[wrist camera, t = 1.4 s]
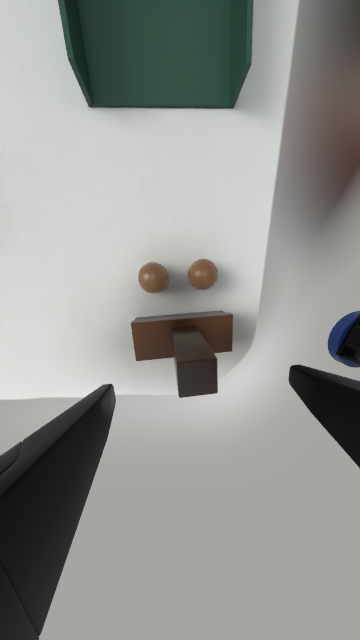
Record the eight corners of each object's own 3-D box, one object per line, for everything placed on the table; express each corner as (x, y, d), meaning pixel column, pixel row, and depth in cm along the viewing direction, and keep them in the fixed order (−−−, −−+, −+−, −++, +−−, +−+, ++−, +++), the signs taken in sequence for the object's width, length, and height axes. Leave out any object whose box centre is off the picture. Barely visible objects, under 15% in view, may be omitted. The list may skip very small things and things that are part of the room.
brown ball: (217, 267, 18) (227, 264, 15) (206, 292, 19) (214, 295, 16) (192, 256, 18) (198, 251, 15) (182, 283, 18) (185, 283, 16)
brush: (222, 308, 20) (281, 338, 10) (222, 340, 20) (275, 397, 11) (136, 316, 19) (105, 356, 9) (140, 348, 20) (116, 417, 10)
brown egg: (172, 270, 18) (173, 268, 15) (162, 296, 19) (162, 299, 16) (145, 259, 17) (141, 255, 15) (136, 286, 18) (131, 287, 15)
